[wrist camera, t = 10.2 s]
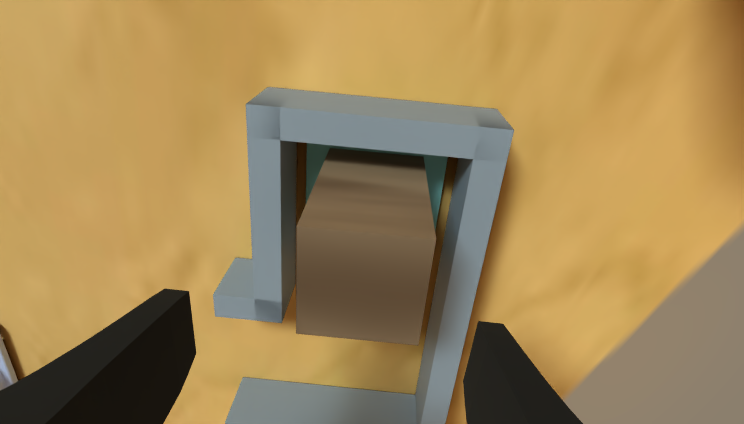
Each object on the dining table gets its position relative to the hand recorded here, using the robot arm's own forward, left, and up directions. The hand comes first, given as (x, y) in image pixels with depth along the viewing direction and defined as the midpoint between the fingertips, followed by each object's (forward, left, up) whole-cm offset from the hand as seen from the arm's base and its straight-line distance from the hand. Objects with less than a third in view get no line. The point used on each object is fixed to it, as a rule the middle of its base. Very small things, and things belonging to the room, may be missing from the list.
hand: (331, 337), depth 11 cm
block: (0, -1, -10) cm, 10 cm away
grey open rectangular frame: (-5, -1, -10) cm, 11 cm away
